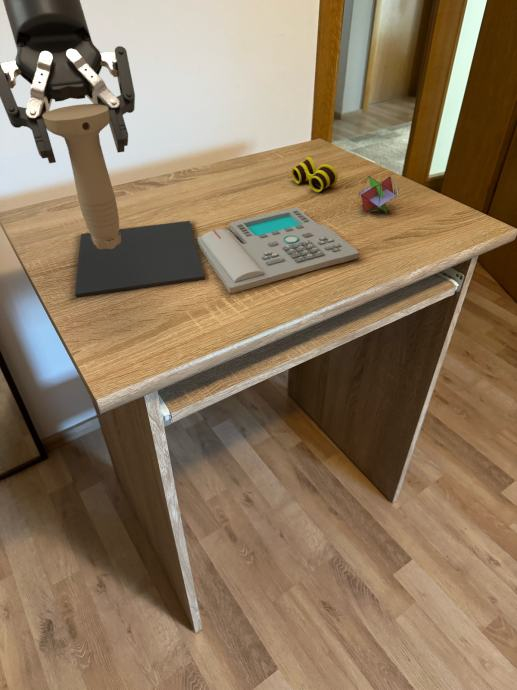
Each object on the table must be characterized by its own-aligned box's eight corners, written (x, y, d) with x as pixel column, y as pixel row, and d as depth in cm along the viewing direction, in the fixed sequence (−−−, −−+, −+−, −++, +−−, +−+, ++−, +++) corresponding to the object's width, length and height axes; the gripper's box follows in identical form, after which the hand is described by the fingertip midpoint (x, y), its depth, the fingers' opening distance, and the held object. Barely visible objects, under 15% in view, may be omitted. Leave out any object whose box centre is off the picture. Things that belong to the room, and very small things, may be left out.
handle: (140, 244, 59) (115, 111, 49) (89, 261, 56) (51, 123, 46) (124, 229, 62) (97, 101, 52) (75, 244, 59) (36, 111, 49)
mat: (75, 297, 75) (74, 294, 74) (81, 236, 89) (80, 233, 89) (204, 279, 78) (204, 276, 77) (190, 223, 93) (189, 220, 92)
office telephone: (229, 281, 73) (187, 225, 87) (230, 295, 74) (189, 238, 88) (361, 245, 80) (302, 198, 93) (359, 259, 81) (301, 211, 95)
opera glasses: (290, 184, 108) (287, 163, 104) (307, 174, 109) (305, 152, 106) (321, 198, 102) (319, 176, 98) (339, 187, 103) (337, 165, 100)
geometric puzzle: (363, 212, 90) (390, 173, 87) (343, 198, 95) (369, 161, 92) (385, 227, 94) (412, 191, 92) (365, 213, 99) (390, 178, 96)
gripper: (113, 24, 56) (153, 160, 56) (-22, 35, 52) (20, 181, 52) (111, -31, 49) (157, 124, 49) (-45, -24, 45) (3, 146, 45)
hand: (86, 153), depth 50 cm, fingers closed on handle, 6 cm apart
